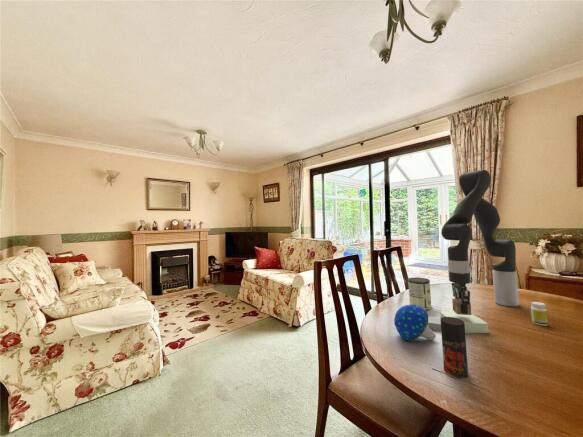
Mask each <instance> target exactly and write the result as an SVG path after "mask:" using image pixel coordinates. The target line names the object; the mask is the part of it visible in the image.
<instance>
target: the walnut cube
mask: <svg viewBox="0 0 583 437" xmlns="http://www.w3.org/2000/svg"><path fill="white" fill-rule="evenodd" d="M451 300H452V312H455V313H456V314H460V315H471V314H472V305H471V302H470V305H467V309H468V314H462V313H461V306H460V299H455V298H451ZM464 301H465V300H464Z"/></svg>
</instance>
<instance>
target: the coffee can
mask: <svg viewBox="0 0 583 437" xmlns="http://www.w3.org/2000/svg"><path fill="white" fill-rule="evenodd" d="M407 281H408V282H407V283H408V297H409V305H417V306H420V307H422V308H423V309H424V310H425V311H426V310H430V309H433V308H432V297H431V295H432V294H431V285H430V284H431V283H430V282H431V280H430V279H429V278H425V277H419V276H418V277H408V278H407Z"/></svg>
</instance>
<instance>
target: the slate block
mask: <svg viewBox="0 0 583 437" xmlns="http://www.w3.org/2000/svg"><path fill="white" fill-rule="evenodd" d="M427 325H428V326H429V328H430V329H431V330H432V331H433V330H434V331H438V332H439V331H440V332H441V320H440V317H436V316H428V324H427Z"/></svg>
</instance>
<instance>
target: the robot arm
mask: <svg viewBox="0 0 583 437" xmlns="http://www.w3.org/2000/svg"><path fill="white" fill-rule="evenodd" d="M491 179H492V178H491V174H490V172H489V171H488V170H487V169H479V170H474V171H473V170H472V171H468V172H463V173H461V174H460V175H459V178H458V183H459V186H460V189H461V191H462V193H463V194H464V197H463V198H462V199H461V200H460V201H458V203H457V204H456V206H455V208H454V211H453V213H452V215H451V216H450V217H449V218H448V220H447V221H446V222H445V223H444V224H443V226H442V228H441V232H440V233H441V237H442V238H443V239H444V240H446V241H458V243H457V244H456V245H452V246H448V248H447V258H448V259H447V261H448V262H447V269H448V281H449V282H451V289H452V296H453V297H454V299H460V306H461V313H462V314H468V309H467V305H470V303H471V292H470V290H468V287H467V284H471V282H472V281H471V267H470V266H471V265H470V262H469V248H470V247H469V246H470V242H471V238H472V234H473V231H472V227H471V226H470V225H469V224H470V223H471V222H472V219H473V217H474V219H475V222H476V224H477V225H478V228H479V230H480V232H481V236H482V239H483V243H484V245H485V249H486V251H487V254H488V255H490V256H491V257H494V258H495V257H496V258H504V260H503V261H501V262H497V263H493V264H492V265H491V271H492V282H493V284H492V285H493V296H494V303H495V304H498V305H501V306H505V307H518V306H519V305H520V302H519V289H518V288H519V287H518V277H517V261H516V260H517V259H516V256H517V254H516V252H517V250H516V249H517V248H516V245H515V242H514V240H512V239H495V238H494V233H495V232H496V229H498V227H499V225H500V222H501V217H500V214H499V212H498V209H497V208H496V206H495V205H494V204H492V203H491V202H490V201H488V200H486V199H485V198H483V197H484V196H485V194H486V192H487V190H488V189H489V188H490V185H491V181H492V180H491ZM464 300H465V301H464Z"/></svg>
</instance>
